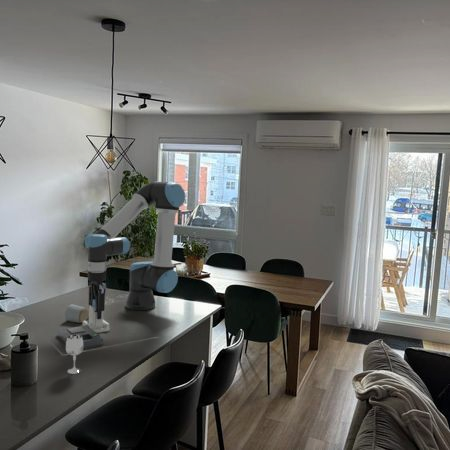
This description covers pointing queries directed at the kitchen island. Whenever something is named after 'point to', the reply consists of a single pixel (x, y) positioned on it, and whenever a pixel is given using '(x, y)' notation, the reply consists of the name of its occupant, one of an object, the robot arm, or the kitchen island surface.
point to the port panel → (87, 335)
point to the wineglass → (74, 350)
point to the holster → (105, 328)
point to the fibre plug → (92, 316)
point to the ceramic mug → (76, 314)
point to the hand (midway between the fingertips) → (95, 324)
